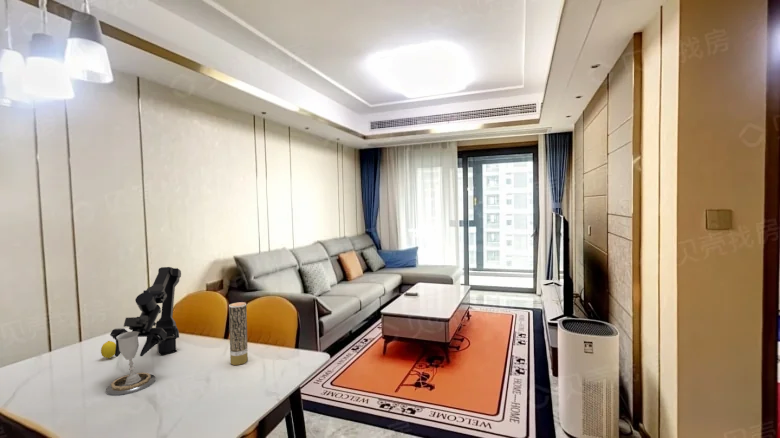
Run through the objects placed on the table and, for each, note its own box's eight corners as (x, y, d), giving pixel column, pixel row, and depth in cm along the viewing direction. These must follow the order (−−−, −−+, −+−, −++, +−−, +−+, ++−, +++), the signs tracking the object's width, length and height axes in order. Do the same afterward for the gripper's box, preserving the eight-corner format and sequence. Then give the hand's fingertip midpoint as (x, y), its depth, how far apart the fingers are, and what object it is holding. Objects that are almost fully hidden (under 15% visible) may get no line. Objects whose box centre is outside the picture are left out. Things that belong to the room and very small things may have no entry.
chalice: (118, 383, 131) (112, 336, 130) (138, 374, 137) (133, 330, 136) (127, 388, 128) (121, 340, 126) (148, 378, 133) (142, 333, 132)
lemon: (110, 361, 154) (109, 343, 154) (97, 361, 154) (97, 343, 154) (120, 356, 159) (119, 338, 159) (108, 356, 159) (107, 338, 159)
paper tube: (250, 359, 153) (249, 302, 153) (242, 366, 146) (241, 306, 146) (235, 358, 154) (234, 302, 153) (227, 365, 147) (225, 306, 147)
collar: (150, 372, 142) (150, 367, 142) (159, 384, 131) (159, 379, 131) (102, 385, 131) (102, 380, 131) (109, 400, 121) (108, 394, 121)
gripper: (112, 308, 135) (89, 347, 124) (161, 307, 135) (142, 346, 124) (128, 322, 143) (107, 360, 132) (174, 321, 143) (157, 359, 132)
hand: (128, 356), depth 130 cm, fingers open, 9 cm apart
